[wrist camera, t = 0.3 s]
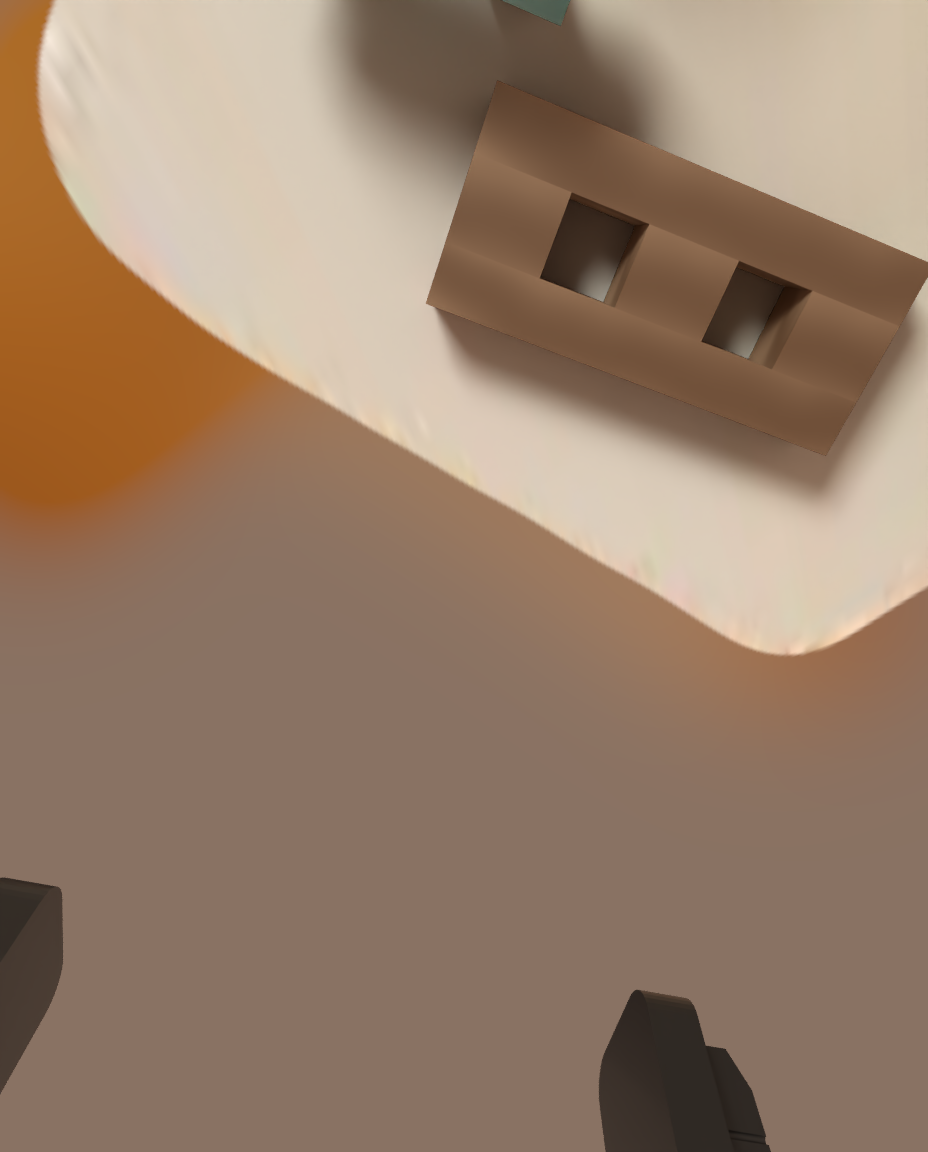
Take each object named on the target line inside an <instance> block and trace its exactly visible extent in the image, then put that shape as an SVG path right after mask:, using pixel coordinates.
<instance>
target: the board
mask: <svg viewBox="0 0 928 1152" xmlns="http://www.w3.org/2000/svg"><path fill="white" fill-rule="evenodd" d="M569 199H571V200H573V201H576V202H578V203H581V204H583V205H585V206H588V207H590V208H593V209H595V210H598V211H600V212H603V213H605V214H608V215H610V216H612V217H615V218H617V219H620V220H622V221H625V222H627V223H630V224H632V225H635V227H634V229H633V232H632V234H631V236H630V239H629V241H628V244H627V246H626V249H625V251H624V253H623V256H622V258H621V261H620V263H619V266H618V268H617V270H616V273H615V275H614V278H613V280H612V283H611V285H610V288H609V290H608V292H607V295H606V297H605V300H604V302H601V301H599V300H596V299H594V298H591V297H589V296H586V295H584V294H581V293H578V292H576V291H573V290H571V289H568V288H566V287H563V286H561V285H558V284H556V283H553V282H550V281H548V280H545V279H543V278H540V276H541V273H542V271H543V268H544V265H545V263H546V260H547V257H548V255H549V252H550V249H551V247H552V244H553V241H554V239H555V236H556V233H557V231H558V228H559V225H560V223H561V220H562V217H563V215H564V212H565V209H566V206H567V204H568V201H569ZM736 267H737V268H740V269H742V270H745V271H747V272H750V273H752V274H755V275H757V276H760V277H762V278H764V279H767V280H769V281H772V282H774V283H777V284H779V285H782V286H784V289H783V291H782V293H781V295H780V297H779V299H778V301H777V303H776V305H775V307H774V309H773V311H772V313H771V315H770V317H769V319H768V321H767V323H766V325H765V327H764V329H763V331H762V333H761V335H760V337H759V339H758V341H757V343H756V345H755V347H754V349H753V351H752V353H751V355H750V357H749V359H747V358H744V357H742V356H739V355H736V354H734V353H731V352H729V351H726V350H724V349H721V348H719V347H716V346H713V345H711V344H708V343H706V342H703V341H702V339H703V337H704V335H705V332H706V330H707V328H708V326H709V324H710V322H711V320H712V318H713V315H714V313H715V311H716V309H717V307H718V305H719V303H720V301H721V298H722V296H723V294H724V292H725V290H726V288H727V286H728V284H729V281H730V279H731V277H732V275H733V273H734V271H735V269H736ZM927 277H928V262H926V261H924V260H921V259H919V258H917V257H914V256H912V255H910V254H907V253H905V252H903V251H900V250H898V249H895V248H893V247H891V246H888V245H886V244H884V243H881V242H879V241H877V240H874V239H872V238H869V237H867V236H865V235H862V234H860V233H858V232H855V231H853V230H850V229H848V228H846V227H843V226H841V225H839V224H836V223H834V222H832V221H829V220H827V219H824V218H822V217H820V216H817V215H815V214H813V213H810V212H808V211H806V210H803V209H801V208H798V207H796V206H794V205H791V204H789V203H787V202H784V201H782V200H780V199H777V198H775V197H772V196H770V195H768V194H765V193H763V192H761V191H758V190H756V189H754V188H751V187H749V186H746V185H744V184H742V183H739V182H737V181H735V180H732V179H730V178H728V177H725V176H723V175H720V174H718V173H716V172H713V171H711V170H709V169H706V168H704V167H701V166H699V165H697V164H694V163H692V162H690V161H687V160H685V159H683V158H680V157H678V156H675V155H673V154H671V153H668V152H666V151H664V150H661V149H659V148H657V147H654V146H652V145H649V144H647V143H645V142H642V141H640V140H638V139H635V138H633V137H631V136H628V135H626V134H623V133H621V132H619V131H616V130H614V129H612V128H609V127H607V126H605V125H602V124H600V123H597V122H595V121H593V120H590V119H588V118H586V117H583V116H581V115H578V114H576V113H574V112H571V111H569V110H567V109H564V108H562V107H560V106H557V105H555V104H552V103H550V102H548V101H545V100H543V99H541V98H538V97H536V96H534V95H531V94H529V93H526V92H524V91H522V90H519V89H517V88H515V87H512V86H510V85H508V84H505V83H503V82H500V81H498V80H497V83H496V86H495V89H494V92H493V95H492V98H491V102H490V105H489V108H488V111H487V114H486V117H485V120H484V123H483V127H482V130H481V133H480V136H479V139H478V142H477V145H476V148H475V152H474V155H473V158H472V161H471V164H470V167H469V170H468V173H467V177H466V180H465V183H464V186H463V189H462V192H461V195H460V198H459V202H458V205H457V208H456V211H455V214H454V217H453V220H452V223H451V227H450V230H449V233H448V236H447V239H446V242H445V245H444V248H443V252H442V255H441V258H440V261H439V264H438V267H437V270H436V273H435V277H434V280H433V283H432V286H431V289H430V292H429V295H428V298H427V301H426V304H428V305H431V306H433V307H436V308H439V309H441V310H444V311H447V312H449V313H452V314H454V315H457V316H460V317H462V318H465V319H468V320H470V321H473V322H475V323H478V324H481V325H483V326H486V327H489V328H491V329H494V330H496V331H499V332H502V333H504V334H507V335H510V336H512V337H515V338H517V339H520V340H523V341H525V342H528V343H531V344H533V345H536V346H538V347H541V348H544V349H546V350H549V351H552V352H554V353H557V354H559V355H562V356H565V357H567V358H570V359H573V360H575V361H578V362H580V363H583V364H586V365H588V366H591V367H594V368H596V369H599V370H601V371H604V372H607V373H609V374H612V375H615V376H617V377H620V378H622V379H625V380H628V381H630V382H633V383H636V384H638V385H641V386H643V387H646V388H649V389H651V390H654V391H657V392H659V393H662V394H664V395H667V396H670V397H672V398H675V399H678V400H680V401H683V402H685V403H688V404H691V405H693V406H696V407H699V408H701V409H704V410H706V411H709V412H712V413H714V414H717V415H720V416H722V417H725V418H728V419H730V420H733V421H735V422H738V423H741V424H743V425H746V426H749V427H751V428H754V429H756V430H759V431H762V432H764V433H767V434H770V435H772V436H775V437H777V438H780V439H783V440H785V441H788V442H791V443H793V444H796V445H798V446H801V447H804V448H806V449H809V450H812V451H814V452H817V453H819V454H822V455H825V456H826V455H827V453H828V451H829V449H830V448H831V446H832V444H833V442H834V441H835V439H836V437H837V435H838V434H839V432H840V430H841V428H842V427H843V425H844V423H845V421H846V420H847V418H848V416H849V414H850V413H851V411H852V409H853V407H854V406H855V404H856V402H857V400H858V399H859V397H860V395H861V393H862V391H863V390H864V388H865V386H866V384H867V383H868V381H869V379H870V377H871V376H872V374H873V372H874V370H875V369H876V367H877V365H878V363H879V362H880V360H881V358H882V356H883V355H884V353H885V351H886V349H887V348H888V346H889V344H890V342H891V341H892V339H893V337H894V335H895V334H896V332H897V330H898V328H899V327H900V325H901V323H902V321H903V319H904V318H905V316H906V314H907V312H908V311H909V309H910V307H911V305H912V304H913V302H914V300H915V298H916V297H917V295H918V293H919V291H920V290H921V288H922V286H923V284H924V283H925V281H926V279H927Z"/></svg>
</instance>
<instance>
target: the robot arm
mask: <svg viewBox="0 0 928 1152" xmlns="http://www.w3.org/2000/svg"><path fill="white" fill-rule="evenodd" d="M62 929H63V928H62V892H61V889H60V888H59V887H56V886H50V885H44V884H39V883H33V882H27V881H21V880H16V879H10V878H0V1093H1V1092H2V1090H3V1088H4V1086H5V1085H6V1083H7V1081H8V1079H9V1077H10V1075H11V1073H12V1072H13V1070H14V1069H15V1067H16V1065H17V1063H18V1061H19V1060H20V1058H21V1056H22V1054H23V1052H24V1051H25V1049H26V1047H27V1045H28V1044H29V1042H30V1040H31V1038H32V1037H33V1035H34V1033H35V1031H36V1029H37V1028H38V1026H39V1024H40V1022H41V1021H42V1019H43V1017H44V1015H45V1013H46V1011H47V1010H48V1008H49V1005H50V1003H51V1001H52V999H53V996H54V994H55V991H56V988H57V985H58V982H59V978H60V975H61V970H62V964H63V930H62ZM599 1102H600V1111H601V1119H602V1127H603V1135H604V1142H605V1150H606V1152H771V1151H770V1148H769V1145H766V1142H765V1137H766V1135H765V1131H764V1129H763V1125H762V1122H761V1119H760V1115H759V1112H758V1109H757V1106H756V1103H755V1099H754V1096H753V1093H752V1090H751V1088H750V1087H749V1085H748V1084H747V1082H746V1080H745V1079H744V1077H743V1076H742V1074H741V1073H740V1071H739V1070H738V1068H737V1066H736V1065H735V1063H734V1062H733V1060H732V1058H731V1057H730V1055H729V1054H728V1052H727V1051H726V1049H723V1048H716V1047H711V1046H705V1042H704V1038H703V1035H702V1031H701V1027H700V1023H699V1020H698V1016H697V1013H696V1010H695V1008H694V1005H693V1004H692V1002H691V1001H690V1000H689V999H687V998H682V997H676V996H671V995H665V994H659V993H653V992H648V991H641V990H635V991H634V992H633V993H632V994H631V996H630V998H629V1000H628V1002H627V1005H626V1007H625V1009H624V1011H623V1013H622V1016H621V1018H620V1020H619V1022H618V1024H617V1026H616V1029H615V1031H614V1033H613V1035H612V1038H611V1040H610V1042H609V1044H608V1046H607V1048H606V1051H605V1053H604V1056H603V1059H602V1064H601V1069H600V1078H599Z"/></svg>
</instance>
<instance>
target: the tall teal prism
mask: <svg viewBox="0 0 928 1152" xmlns="http://www.w3.org/2000/svg"><path fill="white" fill-rule="evenodd" d="M502 1H504V2H507V3H509V4H511V5H513V6H516V7H518V8H520V9H523V10H525V11H527V12H529V13H532V14H534V15H536V16H539V17H541V18H543V19H546V20H548V21H550V22H552V23H555V24H557V25H559V26H561V24H562V21H563V18H564V16H565V13H566V10H567V7H568V5H569V2H570V0H502Z"/></svg>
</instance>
